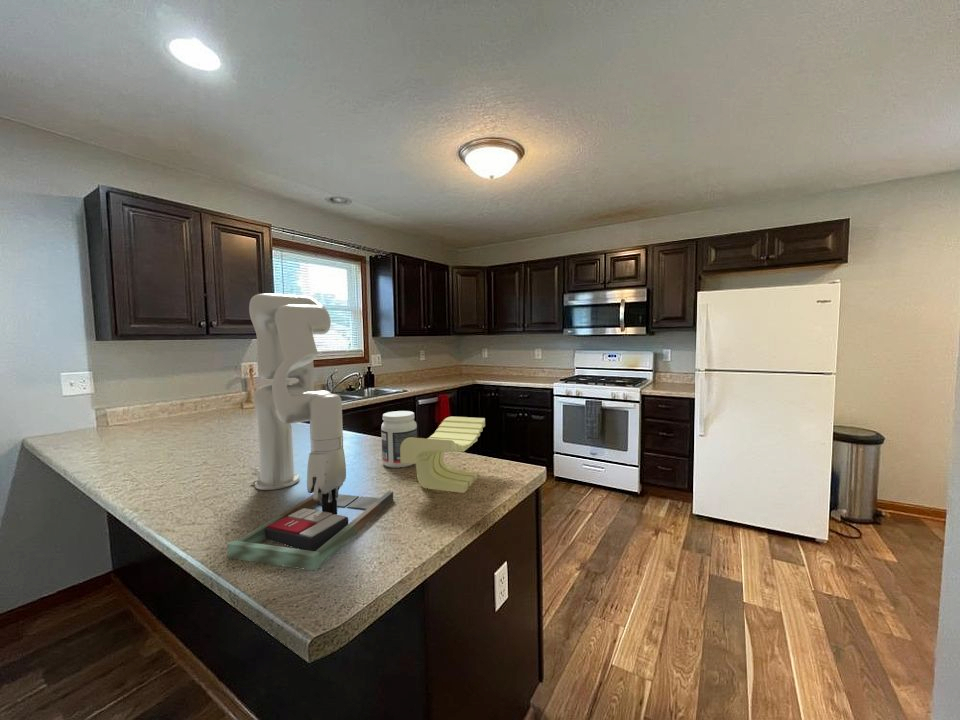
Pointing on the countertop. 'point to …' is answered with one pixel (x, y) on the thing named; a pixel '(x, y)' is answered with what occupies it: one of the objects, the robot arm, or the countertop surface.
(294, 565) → the channel
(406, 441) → the slatted curved stool
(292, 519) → the calculator
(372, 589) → the countertop surface
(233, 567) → the countertop surface
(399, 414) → the supplement tub
